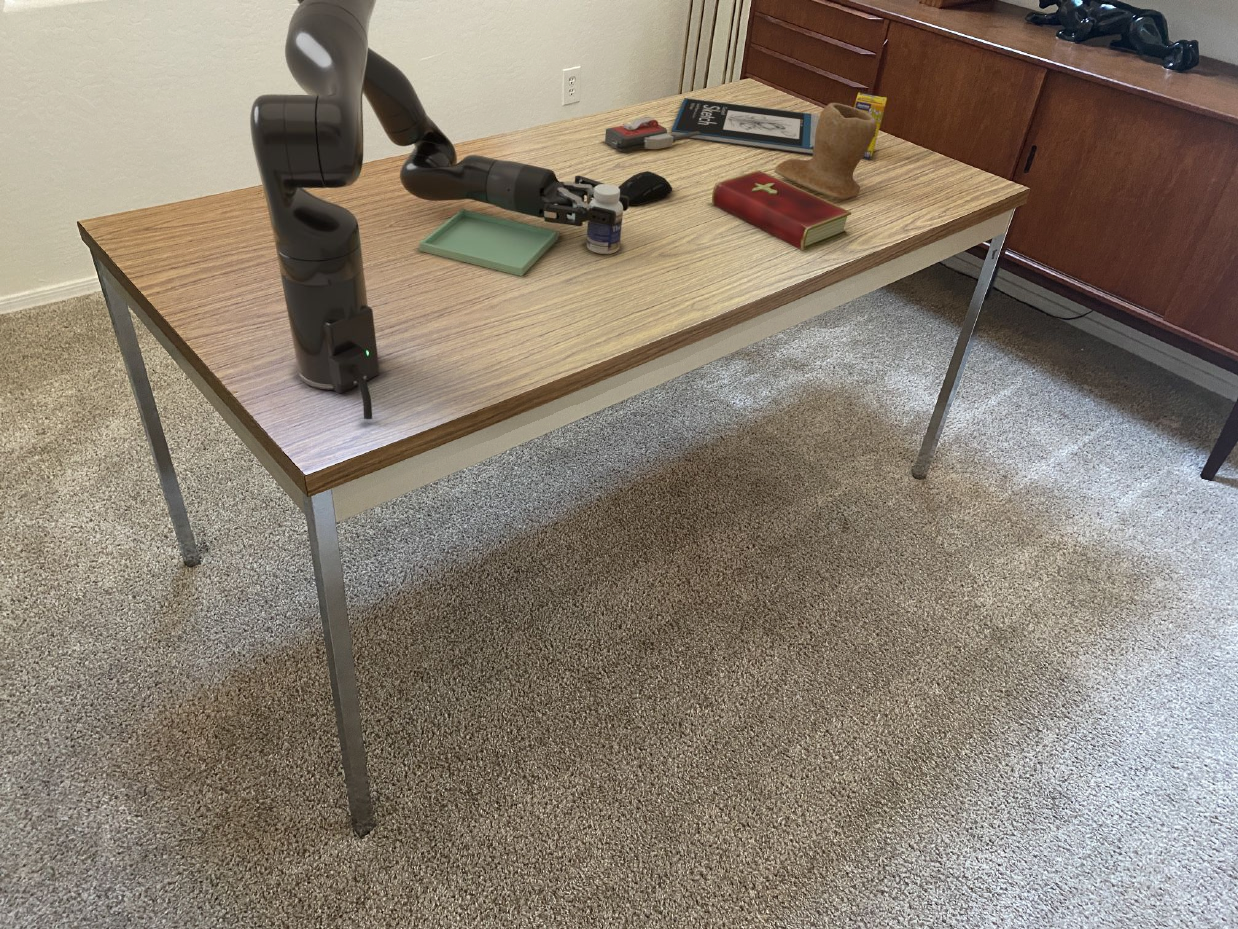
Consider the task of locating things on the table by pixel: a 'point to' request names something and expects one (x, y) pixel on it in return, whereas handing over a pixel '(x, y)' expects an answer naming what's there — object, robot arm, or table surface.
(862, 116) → the brown boot
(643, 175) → the gaming mouse
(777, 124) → the sketchbook
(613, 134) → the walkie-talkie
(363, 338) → the robot arm
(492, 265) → the tray
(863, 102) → the supplement box
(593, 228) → the pill bottle
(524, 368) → the table surface
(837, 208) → the hardcover book
